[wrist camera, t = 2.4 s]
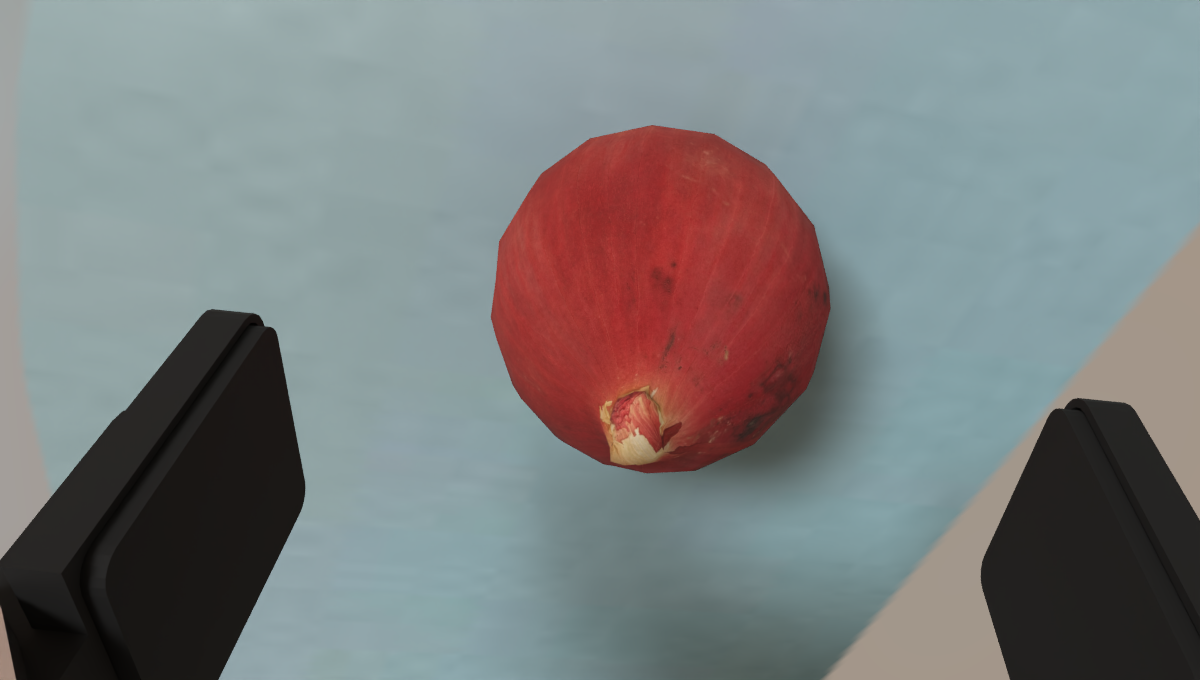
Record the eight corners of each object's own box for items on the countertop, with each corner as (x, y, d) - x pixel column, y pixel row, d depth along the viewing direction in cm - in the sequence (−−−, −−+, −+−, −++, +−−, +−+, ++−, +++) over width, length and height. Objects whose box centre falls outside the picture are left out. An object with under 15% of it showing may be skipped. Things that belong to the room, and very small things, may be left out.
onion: (866, 169, 18) (959, 418, 12) (704, 364, 21) (705, 651, 15) (616, 13, 17) (561, 190, 10) (482, 243, 20) (374, 496, 13)
